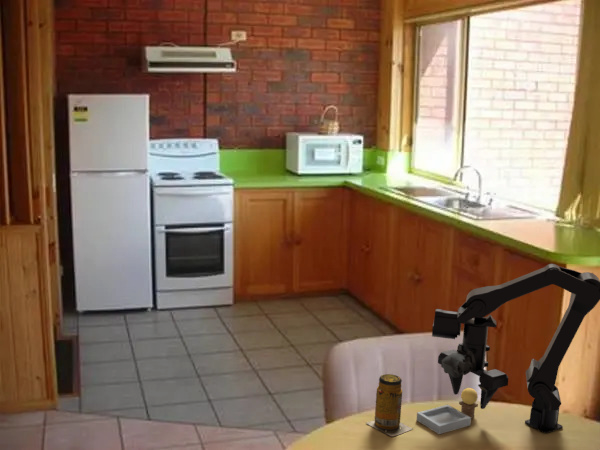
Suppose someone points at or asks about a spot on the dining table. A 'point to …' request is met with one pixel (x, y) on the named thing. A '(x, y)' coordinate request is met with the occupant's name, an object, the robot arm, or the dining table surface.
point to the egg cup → (468, 408)
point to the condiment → (389, 406)
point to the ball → (469, 396)
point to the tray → (443, 419)
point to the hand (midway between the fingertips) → (469, 401)
